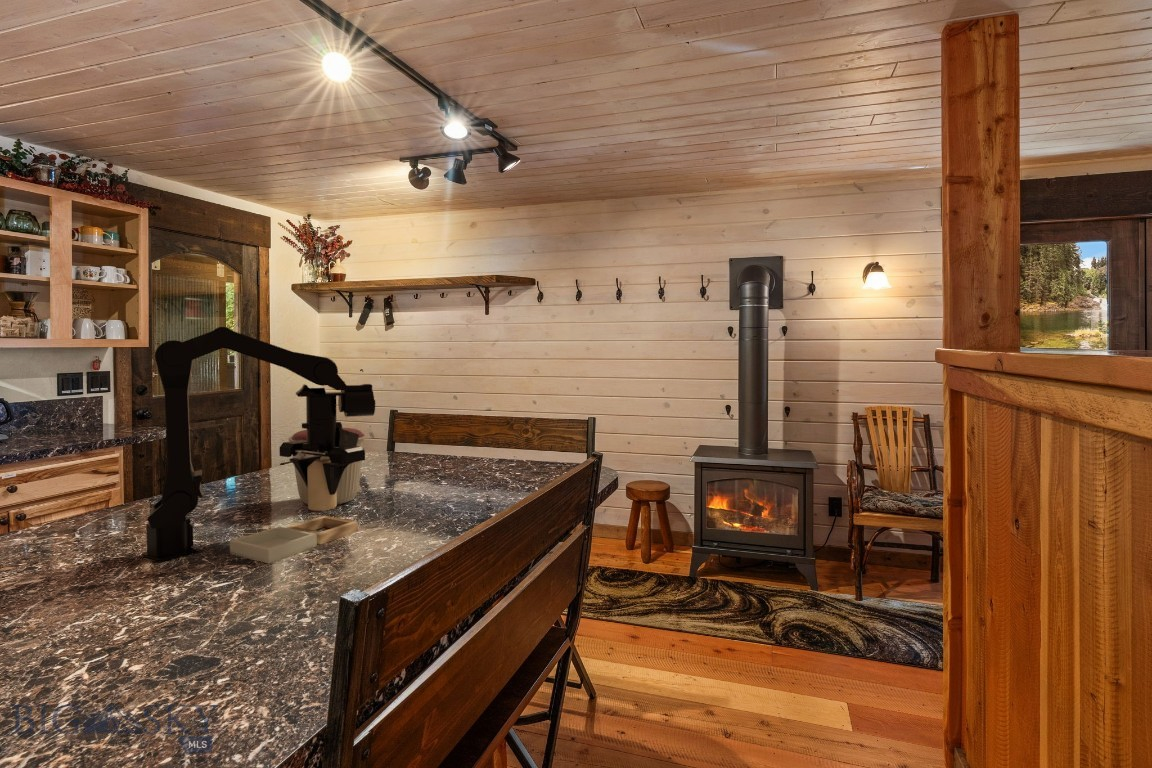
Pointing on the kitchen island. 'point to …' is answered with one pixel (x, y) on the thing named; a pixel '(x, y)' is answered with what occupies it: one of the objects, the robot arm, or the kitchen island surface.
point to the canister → (348, 479)
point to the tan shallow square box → (338, 527)
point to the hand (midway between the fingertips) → (322, 492)
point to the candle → (319, 488)
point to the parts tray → (273, 544)
